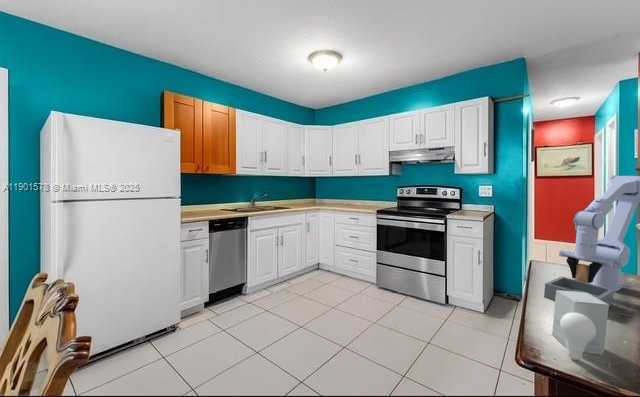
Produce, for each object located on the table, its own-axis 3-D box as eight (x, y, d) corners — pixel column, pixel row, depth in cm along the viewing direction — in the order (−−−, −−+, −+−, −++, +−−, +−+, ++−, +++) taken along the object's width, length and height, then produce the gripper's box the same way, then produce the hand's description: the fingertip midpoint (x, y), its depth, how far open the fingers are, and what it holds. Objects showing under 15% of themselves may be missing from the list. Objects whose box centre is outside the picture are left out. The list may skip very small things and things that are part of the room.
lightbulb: (584, 371, 61) (590, 323, 60) (551, 355, 67) (556, 310, 66) (597, 363, 64) (602, 317, 63) (564, 348, 70) (568, 305, 69)
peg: (576, 283, 107) (578, 263, 107) (590, 287, 104) (593, 266, 103) (572, 285, 105) (574, 264, 105) (586, 289, 102) (589, 267, 101)
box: (560, 289, 106) (561, 276, 106) (612, 304, 94) (614, 290, 94) (543, 297, 99) (545, 283, 98) (597, 314, 87) (599, 299, 86)
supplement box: (604, 355, 67) (610, 305, 66) (568, 351, 69) (574, 301, 67) (582, 338, 74) (587, 292, 73) (550, 334, 76) (555, 289, 75)
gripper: (557, 241, 107) (553, 275, 109) (610, 250, 95) (605, 289, 96) (564, 238, 111) (561, 272, 112) (616, 247, 99) (612, 285, 100)
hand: (582, 279), depth 104 cm, fingers closed on peg, 4 cm apart
